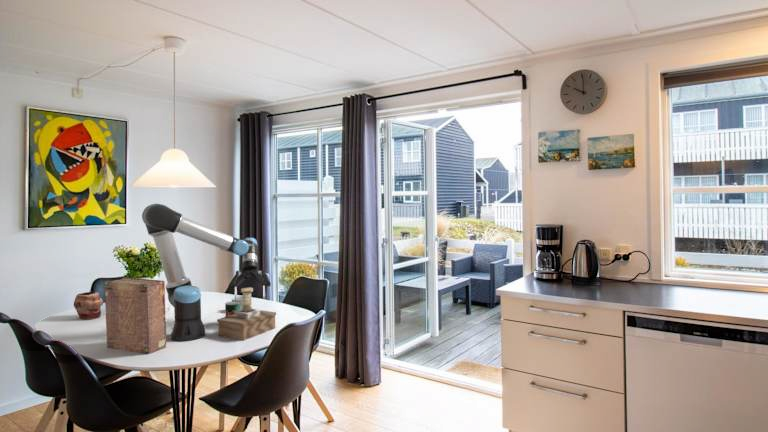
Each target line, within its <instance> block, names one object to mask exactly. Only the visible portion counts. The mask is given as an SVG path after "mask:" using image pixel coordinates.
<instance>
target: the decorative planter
mask: <svg viewBox="0 0 768 432" xmlns="http://www.w3.org/2000/svg"><path fill="white" fill-rule="evenodd" d="M103 305H104V300H103V299H102V297H101V296H100V294H99V292H97V291H87V292H82V293H81V292H80V293H78V294H76V296H75V297H74V301H73V307H74V309H75V311H76V313H77V316H78V317H79V319H80V320H93V319H97V318H100V317H101V314H102V310H101V307H102V306H103Z"/></svg>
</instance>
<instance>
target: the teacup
mask: <svg viewBox="0 0 768 432" xmlns="http://www.w3.org/2000/svg"><path fill="white" fill-rule="evenodd" d="M231 301H235V296H234V297H232V298H231ZM237 301H240V302H241V310H242V309H243V294H242V295H240V296H239V295H237Z"/></svg>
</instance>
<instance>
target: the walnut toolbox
mask: <svg viewBox="0 0 768 432" xmlns="http://www.w3.org/2000/svg"><path fill="white" fill-rule="evenodd" d="M276 315H277V311H276V312H275V311H269V310H261V309H257V308H252V312H248V313H246V312H243V309H242V310H239V311H236V312H235V314H233V315H230V316H227V317H226V316H224V317H220V318H218V319H216V322H217V323H218V336H219V337H223V338H228V339H233V340H240V341H246V340H249V339H251V338H254V337H257V336H258V335H262V334H264V333H267V332H270V331H272V330H273V329H276Z"/></svg>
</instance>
